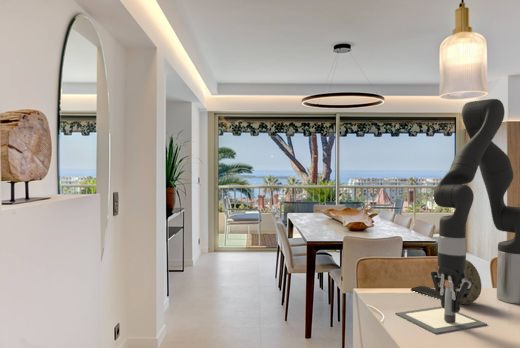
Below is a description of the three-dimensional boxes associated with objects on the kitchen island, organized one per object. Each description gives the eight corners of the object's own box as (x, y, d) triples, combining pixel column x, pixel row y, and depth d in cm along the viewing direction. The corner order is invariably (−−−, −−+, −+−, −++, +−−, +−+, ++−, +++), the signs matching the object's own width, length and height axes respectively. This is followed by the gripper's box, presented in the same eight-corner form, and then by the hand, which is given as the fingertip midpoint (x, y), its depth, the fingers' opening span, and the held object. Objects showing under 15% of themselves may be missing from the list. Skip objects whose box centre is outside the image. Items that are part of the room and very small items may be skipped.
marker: (449, 317, 119) (450, 278, 119) (458, 321, 116) (459, 280, 116) (441, 319, 118) (442, 278, 118) (450, 323, 115) (451, 281, 115)
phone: (422, 285, 154) (459, 296, 141) (422, 288, 154) (459, 299, 141) (409, 288, 150) (446, 299, 137) (409, 291, 150) (446, 303, 137)
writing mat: (443, 307, 131) (443, 305, 131) (487, 325, 117) (487, 323, 117) (395, 314, 124) (395, 312, 124) (435, 334, 109) (435, 332, 109)
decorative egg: (488, 307, 132) (489, 262, 132) (460, 309, 130) (461, 263, 130) (465, 297, 142) (466, 256, 142) (439, 299, 140) (440, 256, 140)
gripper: (482, 255, 112) (480, 317, 112) (442, 246, 125) (440, 301, 125) (462, 257, 109) (460, 320, 109) (423, 247, 122) (422, 303, 122)
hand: (450, 309), depth 117 cm, fingers closed on marker, 3 cm apart
